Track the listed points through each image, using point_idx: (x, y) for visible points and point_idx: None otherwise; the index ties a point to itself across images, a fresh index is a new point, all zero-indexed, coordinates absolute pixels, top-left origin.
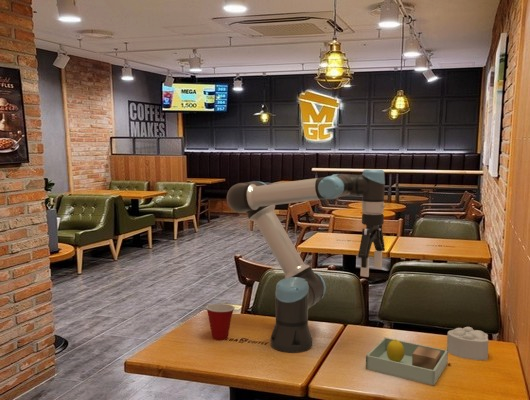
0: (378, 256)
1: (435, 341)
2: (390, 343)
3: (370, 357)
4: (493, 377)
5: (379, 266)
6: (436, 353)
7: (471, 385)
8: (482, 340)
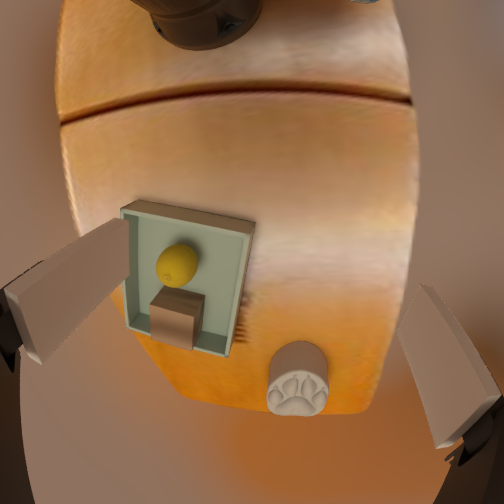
0: (439, 388)
1: (354, 323)
2: (161, 263)
3: (120, 217)
4: (218, 384)
5: (407, 333)
6: (174, 343)
7: (175, 357)
8: (272, 409)
